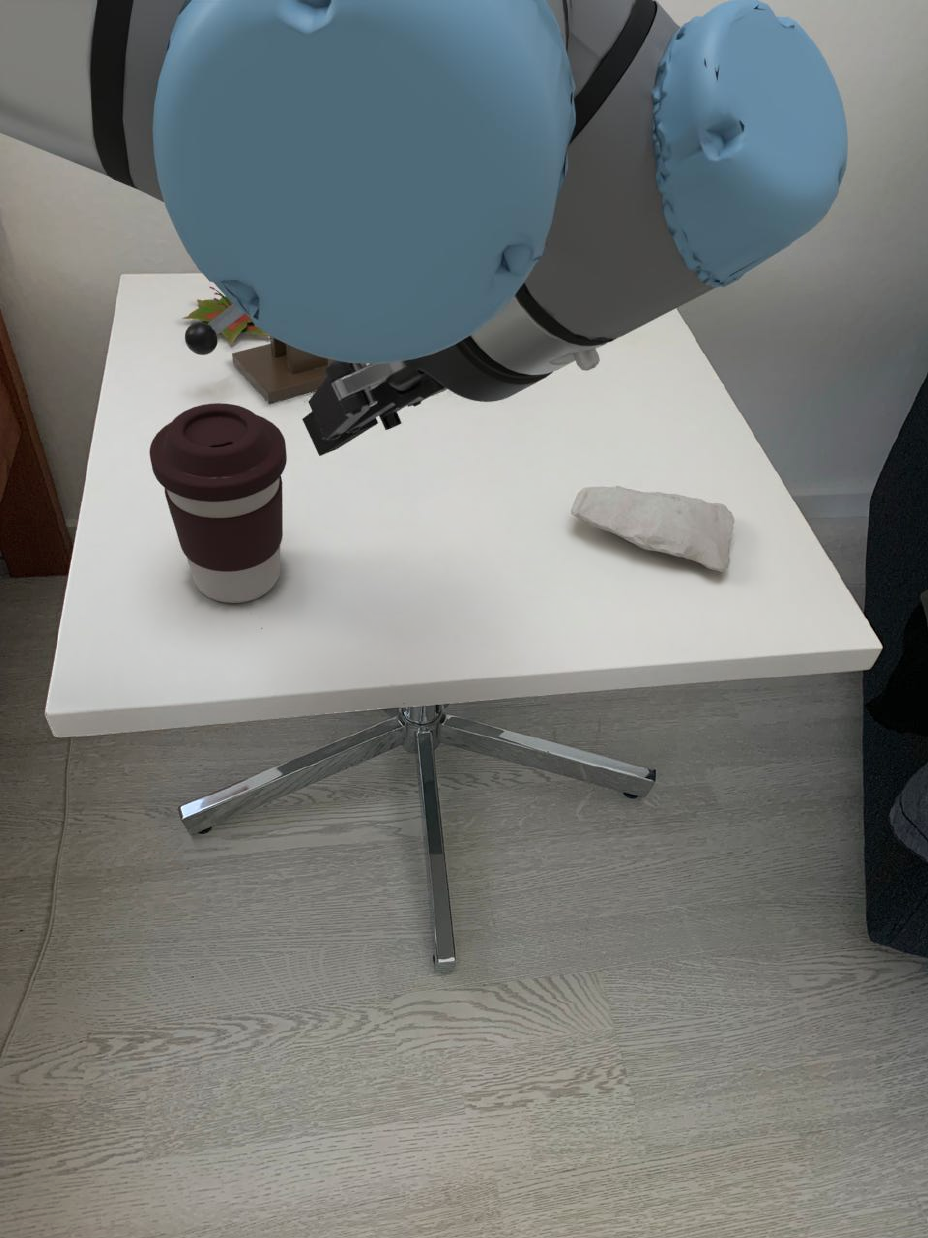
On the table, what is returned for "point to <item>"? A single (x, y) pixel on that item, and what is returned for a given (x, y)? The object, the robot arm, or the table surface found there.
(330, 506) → the table surface
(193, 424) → the coffee cup
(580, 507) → the decorative stone
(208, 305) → the lily flower
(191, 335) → the lever handle
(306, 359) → the brown lever base
